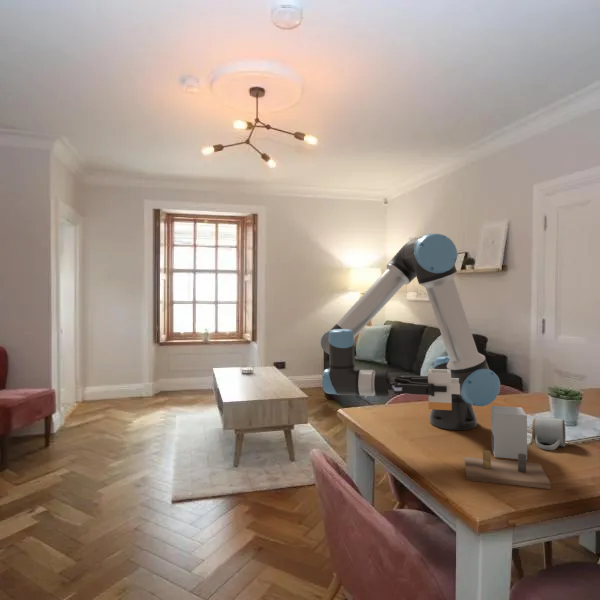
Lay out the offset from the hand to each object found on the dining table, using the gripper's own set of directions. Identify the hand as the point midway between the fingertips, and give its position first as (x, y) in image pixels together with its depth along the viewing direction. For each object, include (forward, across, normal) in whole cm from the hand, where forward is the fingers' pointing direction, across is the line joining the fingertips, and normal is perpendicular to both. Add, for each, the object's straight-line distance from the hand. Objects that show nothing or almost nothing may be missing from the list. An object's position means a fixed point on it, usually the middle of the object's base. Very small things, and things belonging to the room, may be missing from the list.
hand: (459, 386), depth 121 cm
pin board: (+10, +10, -19) cm, 24 cm away
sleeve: (-5, 0, -6) cm, 8 cm away
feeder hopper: (+13, -5, -20) cm, 24 cm away
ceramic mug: (+25, -15, -20) cm, 35 cm away
